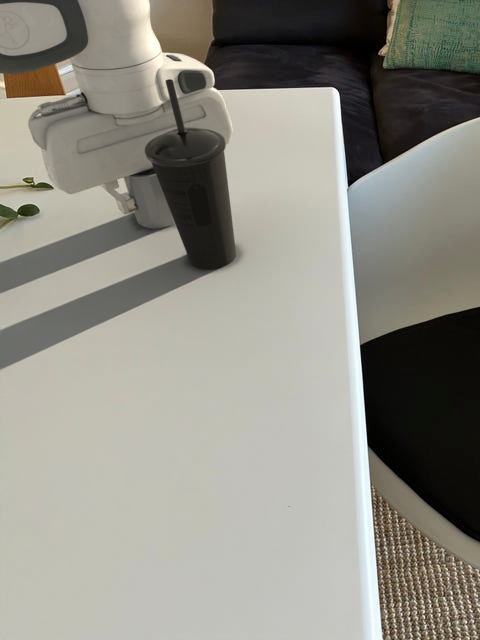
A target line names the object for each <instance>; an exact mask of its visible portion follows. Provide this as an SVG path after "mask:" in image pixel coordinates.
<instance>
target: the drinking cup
mask: <svg viewBox="0 0 480 640" xmlns="http://www.w3.org/2000/svg"><path fill="white" fill-rule="evenodd" d="M165 82H166V86H167V90H168V94H169V98H170V101H171V105H172V109H173V113H174V117H175V121H176V125H177V129H174V130H171V131H168V132H166V133H164V134H162V135H159V136H157V137H155V138H154V139H152V140H151V141H149V142H148V143H147V145H146V147H145V155H146V157H147V158H148V160H149V161H151V163H152V165H153V168H154V170H155V173H156V176H157V178H158V181H159V183H160V186H161V188H162V191H163V194H164V196H165V199H166V201H167V204H168V206H169V209H170V211H171V214H172V217H173V219H174V222H175V227H176V230H177V232H178V235H179V237H180V240H181V242H182V245H183V247H184V251H185V252H186V255H187V257H188V260H189V263H190V265H191V266H192V267H194V268H196V269H199V270H204V271H209V270H210V271H211V270H217V269H222V268H224V267H226V266H228V265H230V264H232V263H233V262H234V261H235V259H236V257H237V250H236V242H235V241H236V240H235V233H234V224H233V217H232V216H233V215H232V208H231V207H232V206H231V198H230V191H229V190H230V189H229V182H228V174H227V165H226V155H225V150H226V147H227V144H226V142H225V139H224V137H223V136H222V135H221V134H219V133H218V132H215V131H212V130H208V129H200V128H185V127H184V123H183V119H182V115H181V111H180V107H179V103H178V99H177V95H176V91H175V87H174V83H173V80H172V79H168V80H166V81H165Z"/></svg>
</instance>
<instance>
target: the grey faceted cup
mask: <svg viewBox="0 0 480 640" xmlns="http://www.w3.org/2000/svg"><path fill="white" fill-rule="evenodd" d="M122 179H123V182H124V185H125V188H126V192H127V193H128V194H129V195H130V196H132V197H133V198H134V201H135V206H136V207H137V210H136V211H133V213H134V216H135V219H136V221H137V223H138V224H139V225H140V226H142V227H144V228H148V229H163V228H168V227H172V226H176V224H175V222H174V219H173V217H172V214H171V211H170V209H169V206H168V204H167V201H166V199H165V196H164V194H163V191H162V188H161V186H160V183H159V181H158V178H157V176H156V173H155V170H154V168H152V169H148V170H145V171H142V172H139V173H136V174H133V175H130V176H127V177H124V178H122Z"/></svg>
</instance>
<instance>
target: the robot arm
mask: <svg viewBox="0 0 480 640" xmlns="http://www.w3.org/2000/svg"><path fill="white" fill-rule="evenodd" d="M151 23H152V22H151V3H150V0H0V74H3V75H22V74H27V73H30V72H34V71H39V70H41V69H44V68H47V67H51V66H54V65H57V64H59V63H62V62H64V61H67V60H69V61H70V64H71V67H72V71H73V73H74V76H75V80H76V82H77V85H78V89H79V92H80V93H77V94H74V95H73V94H72V95H70V96H67V97H63V98H61V99H58V100H56V101H46V102H43V103H41V104H39V105H38V106H37V109H35V110H34V111H33V112H32V113H31V114H30V115H29V118H28V121H27V124H28V125H27V126H28V129H29V132H30V134H31V135H30V136H31V137H32V140H33V142H34V143H35V145H36V146H37V147H39V148H40V151H41V157H42V160H43V164H44V167H45V170H46V173H47V176H48V179H49V180H50V182H51V183H52V185H54V186H55V187H56V188H57V189H59V190H60V191H62V192H64V193H65V194H67V195H73V194H77V193H80V192H83V191H87V190H90V189H93V188H95V187H98V186H100V187H101V188H102V189H103V190H105V191H106V192H107V193H108V194H109V195H111V196H112V197H113V198H114V199H115V203H116V206H117V208H118V210H119V211H120V212H121V213H122V214H123V215H124V216H125V215H128V214H131V213H134V211H136V210H137V207H136V206H135V201H134V198H133V197H132V196H130V195H129V194H128V191H125V192H123V193H120V192H118V191H117V190H118V189H119V188H120V184H119V181H118V180H120V179H123V178H124V177H127V176H130V175H133V174H136V173H139V172H142V171H145V170H148V169H152V168H153V165H152V163H151V161H149V160H148V158H147V157H146V155H145V147H146V145H147V143H148V142H149V141H151V140H152V139H154V138H155V137H157V136H159V135H162V134H164V133H166V132H168V131H171V130H174V129H177V125H176V121H175V117H174V113H173V109H172V105H171V101H170V98H169V94H168V90H167V86H166V82H165V81H166V80H168V79H172V80H173V83H174V87H175V91H176V95H177V99H178V103H179V107H180V111H181V115H182V119H183V123H184V127H185V128H200V129H208V130H212V131H215V132H218V133H219V134H221V135H222V136H223V137H224V139H225V142H226V145H229V144H230V142H231V140H232V137H233V135H234V128H233V124H232V119H231V116H230V113H229V109H228V106H227V105H226V102H225V99H224V97H223V95H222V93H221V92H220V91H219V89H217V88H215V87H214V86H215V75H214V72H213V70H212V69H211V68H209V67H208V66H207V65H206V64H204V63H203V62H201V61H199V60H197V59H195V58H193V57H191V56H189V55H186V54H183V53H176V52H175V53H174V52H163V50H162V47H161V43H160V42H159V39H158V38H157V36H156V34H155V32H154V30H153V27H152V25H151Z"/></svg>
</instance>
